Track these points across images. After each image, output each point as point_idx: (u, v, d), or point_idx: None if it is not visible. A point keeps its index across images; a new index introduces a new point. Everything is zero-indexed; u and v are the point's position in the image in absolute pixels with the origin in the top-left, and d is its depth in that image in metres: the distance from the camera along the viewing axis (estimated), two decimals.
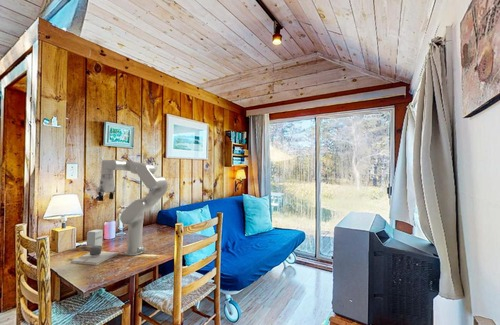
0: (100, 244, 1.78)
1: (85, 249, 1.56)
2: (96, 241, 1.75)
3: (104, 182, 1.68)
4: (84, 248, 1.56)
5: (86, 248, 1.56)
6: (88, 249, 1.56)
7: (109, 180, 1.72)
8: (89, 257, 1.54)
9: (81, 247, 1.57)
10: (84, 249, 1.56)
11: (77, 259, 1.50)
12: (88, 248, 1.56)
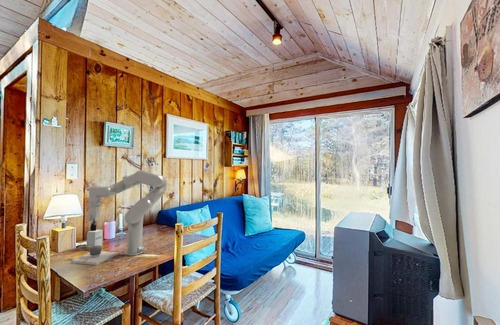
0: (100, 244, 1.78)
1: (85, 249, 1.56)
2: (96, 241, 1.75)
3: None
4: (84, 248, 1.56)
5: (86, 248, 1.56)
6: (88, 249, 1.56)
7: None
8: (89, 257, 1.54)
9: (81, 247, 1.57)
10: (84, 249, 1.56)
11: (77, 259, 1.50)
12: (88, 248, 1.56)
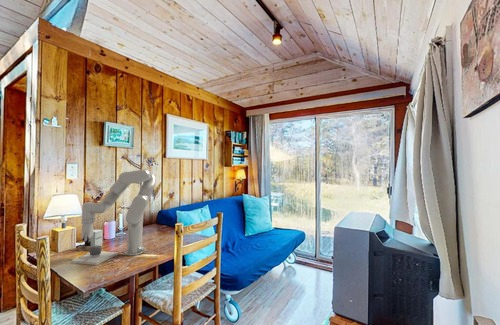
0: (100, 244, 1.78)
1: (85, 249, 1.56)
2: (96, 241, 1.75)
3: None
4: (84, 248, 1.56)
5: (86, 248, 1.56)
6: (88, 249, 1.56)
7: None
8: (89, 257, 1.54)
9: (80, 247, 1.56)
10: (84, 249, 1.56)
11: (77, 259, 1.50)
12: (88, 248, 1.56)
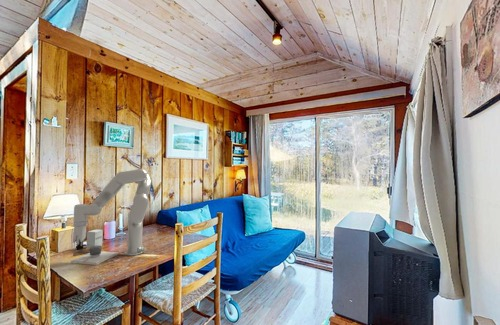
0: (100, 244, 1.78)
1: (83, 252, 1.51)
2: (96, 241, 1.75)
3: None
4: (81, 251, 1.50)
5: (84, 251, 1.51)
6: (87, 251, 1.52)
7: None
8: (89, 257, 1.54)
9: (77, 251, 1.49)
10: (81, 252, 1.50)
11: (77, 259, 1.50)
12: (87, 250, 1.52)
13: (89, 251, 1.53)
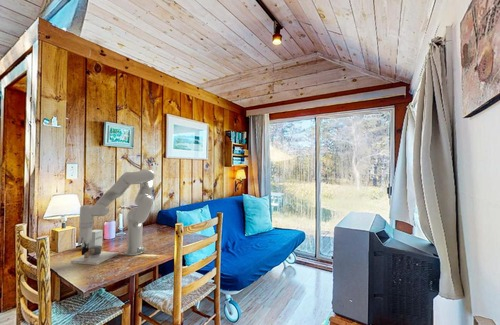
0: (100, 244, 1.78)
1: (91, 253, 1.49)
2: (96, 241, 1.75)
3: None
4: (90, 252, 1.49)
5: (92, 251, 1.50)
6: (93, 251, 1.52)
7: None
8: (89, 257, 1.54)
9: (88, 253, 1.46)
10: (90, 253, 1.49)
11: (77, 259, 1.50)
12: (93, 250, 1.52)
13: (94, 251, 1.53)
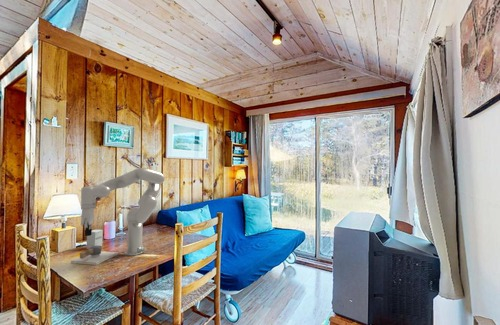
0: (100, 244, 1.78)
1: (88, 253, 1.49)
2: (96, 241, 1.75)
3: None
4: (87, 253, 1.48)
5: (89, 252, 1.50)
6: (91, 252, 1.51)
7: None
8: (89, 257, 1.54)
9: (85, 253, 1.46)
10: (87, 254, 1.48)
11: (77, 259, 1.50)
12: (91, 251, 1.51)
13: (92, 251, 1.52)
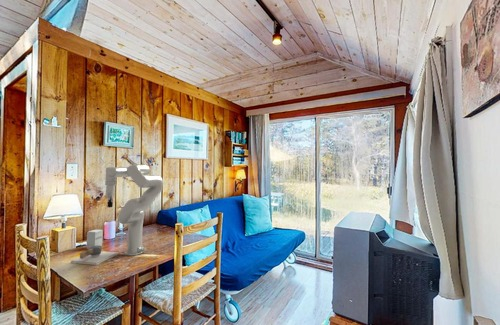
0: (100, 244, 1.78)
1: (88, 253, 1.49)
2: (96, 241, 1.75)
3: None
4: (87, 253, 1.48)
5: (89, 252, 1.50)
6: (91, 252, 1.51)
7: None
8: (89, 257, 1.54)
9: (85, 253, 1.46)
10: (87, 254, 1.48)
11: (77, 259, 1.50)
12: (91, 251, 1.51)
13: (92, 251, 1.52)
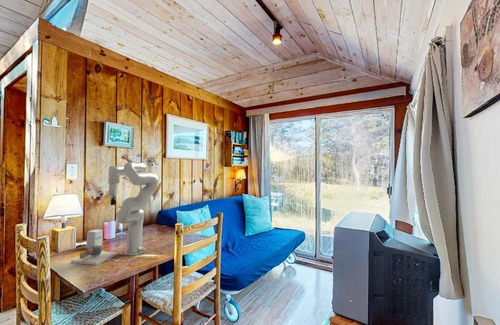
0: (100, 244, 1.78)
1: (88, 253, 1.49)
2: (96, 241, 1.75)
3: None
4: (87, 253, 1.48)
5: (89, 252, 1.50)
6: (91, 252, 1.51)
7: None
8: (89, 257, 1.54)
9: (85, 253, 1.46)
10: (87, 254, 1.48)
11: (77, 259, 1.50)
12: (91, 251, 1.51)
13: (92, 251, 1.52)
